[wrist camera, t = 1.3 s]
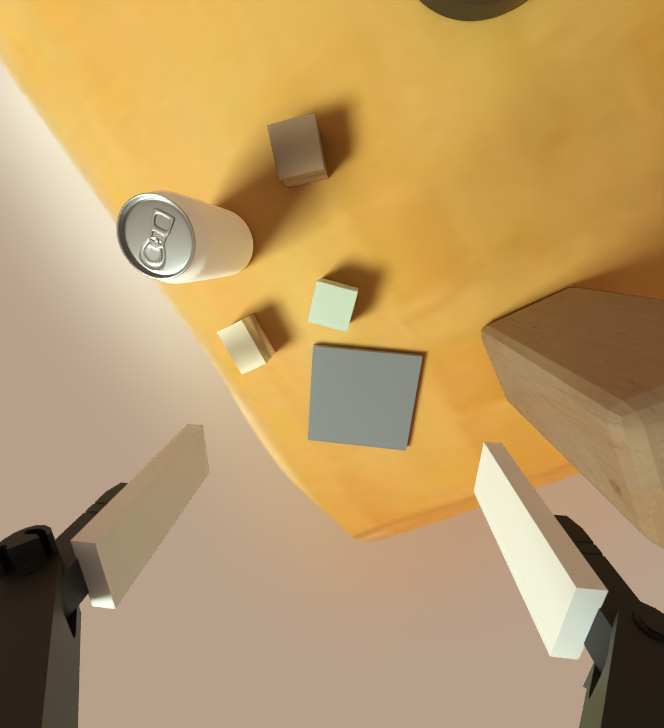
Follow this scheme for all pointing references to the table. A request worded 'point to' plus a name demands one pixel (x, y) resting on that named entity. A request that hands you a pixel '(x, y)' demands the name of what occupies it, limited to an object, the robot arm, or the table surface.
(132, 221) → the can
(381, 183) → the table surface
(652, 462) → the wooden block
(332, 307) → the sage painted cube
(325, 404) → the slate coaster
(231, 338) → the pale birch block
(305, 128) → the walnut block
